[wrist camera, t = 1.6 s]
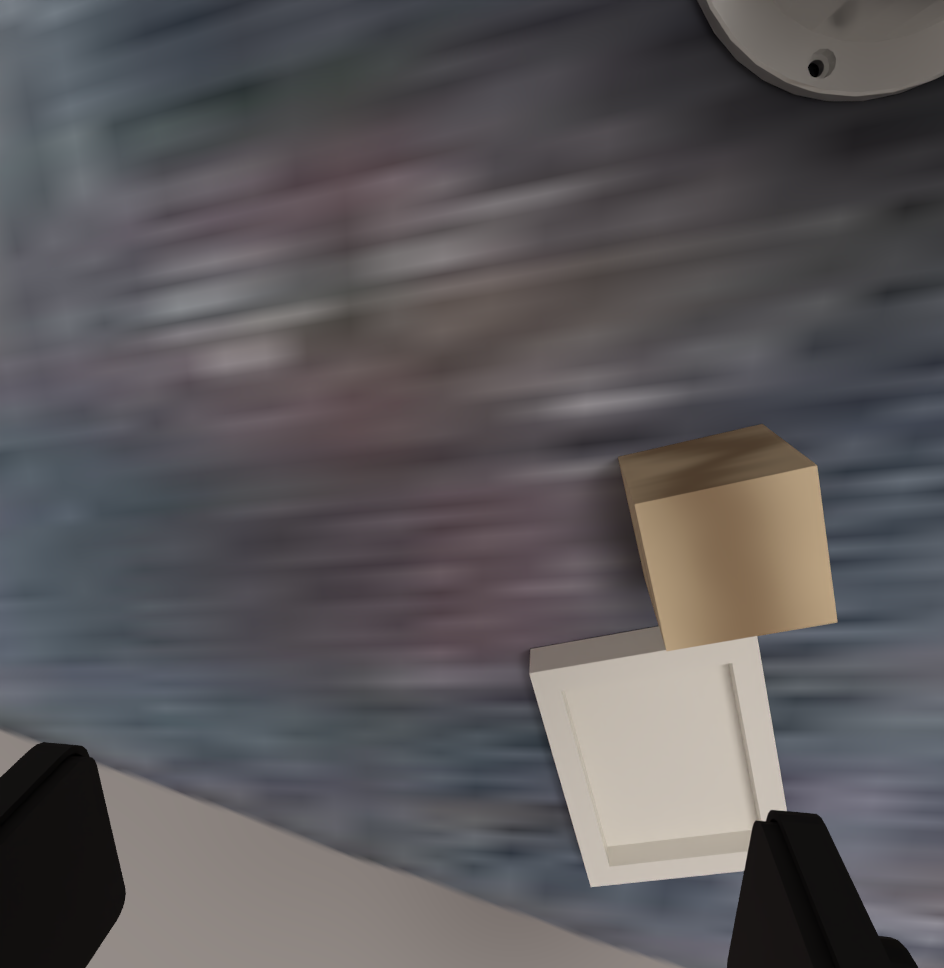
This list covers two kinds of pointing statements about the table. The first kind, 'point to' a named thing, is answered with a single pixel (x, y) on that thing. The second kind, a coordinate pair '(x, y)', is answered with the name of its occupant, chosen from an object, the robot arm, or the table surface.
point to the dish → (659, 752)
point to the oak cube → (730, 537)
